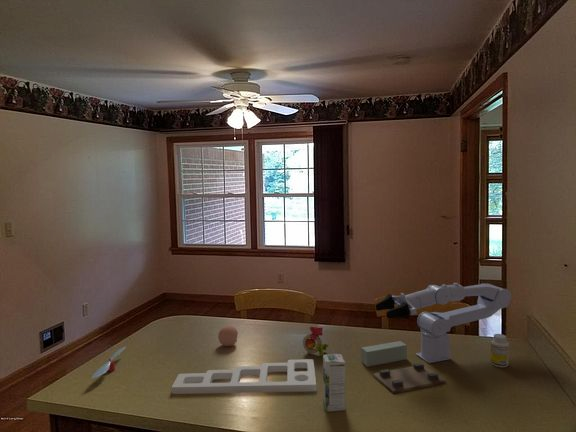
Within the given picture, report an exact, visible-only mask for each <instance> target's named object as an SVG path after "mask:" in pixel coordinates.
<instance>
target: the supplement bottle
mask: <svg viewBox="0 0 576 432" xmlns="http://www.w3.org/2000/svg"><path fill="white" fill-rule="evenodd" d="M507 340H508V339H507V335H504V334H501V333H495V334H493V338H492V340H490V363H491V364H492V365H493V366H495V367H498V368H507V367H508V366H509V361H510V360H509V359H510V342H508V341H507Z"/></svg>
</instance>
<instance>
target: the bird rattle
mask: <svg viewBox="0 0 576 432" xmlns="http://www.w3.org/2000/svg"><path fill="white" fill-rule="evenodd" d="M309 330H310V333H308V334H306V335H305V336H304V337H303V339H302V346H303V348H304V350H305V351H306V352H307V355H309V354H316V353H319V357H323V355H324V351H327V348H328V347H329V344H327V343H324V344H322V339H321V338H320V337H321V336H323V335H324V334H323V330H324V329H323V327H316V326H309Z"/></svg>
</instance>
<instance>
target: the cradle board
mask: <svg viewBox="0 0 576 432" xmlns="http://www.w3.org/2000/svg"><path fill="white" fill-rule="evenodd" d="M372 376H373V377H374V378H375V379H376V380H377V381H378V382H379V383H380V384H381V385H383V386H384V387H385V388H386V389H387V390H388V391H390V392H391V393H392V395H393V394H398V393H403V392H407V391H413V390H417V389H422V388H427V387H431V386H436V385H440V384H445V383H446V379H444V378H443V377H441V376H440V375H439V374H438V373H437V372H435V371H433V370H431V369H429V368H428V367H427V366H426V365H425V364H424V363H423V362H418V363H414V364H413V366H407V367H403V368H397V369H391V370H389V369H388V368H387V369H386V368H385V369H381V370H379V372H376V373H373V374H372Z"/></svg>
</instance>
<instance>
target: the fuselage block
mask: <svg viewBox="0 0 576 432" xmlns="http://www.w3.org/2000/svg"><path fill="white" fill-rule="evenodd" d="M360 348H361V351H360V352H361V363H362V364H363V365H364V366H365V367H368V368H369V367H372V366H378V365H382V364H389V363H394V362H400V361H403V360H404V361H405V360H407V358H408V351H407V350H408V349H407V348H408V347H407V344H406V343H404V342H403V341H402V340H398V341H394V342H386V343H380V344H376V345H375V344H374V345H368V346H363V347H360Z"/></svg>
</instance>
